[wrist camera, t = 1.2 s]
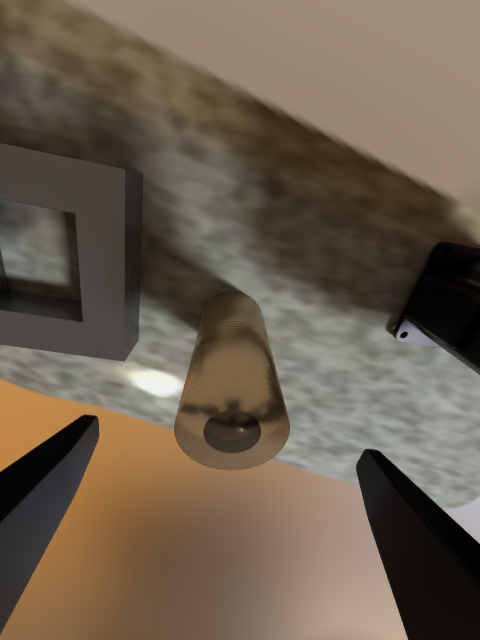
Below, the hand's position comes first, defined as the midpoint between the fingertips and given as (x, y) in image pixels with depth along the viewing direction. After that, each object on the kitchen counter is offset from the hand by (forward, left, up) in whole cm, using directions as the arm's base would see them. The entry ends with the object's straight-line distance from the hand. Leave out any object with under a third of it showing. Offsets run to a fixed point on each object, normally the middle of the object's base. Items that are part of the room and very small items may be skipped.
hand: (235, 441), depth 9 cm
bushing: (0, 0, -9) cm, 9 cm away
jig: (+11, -2, -9) cm, 15 cm away
